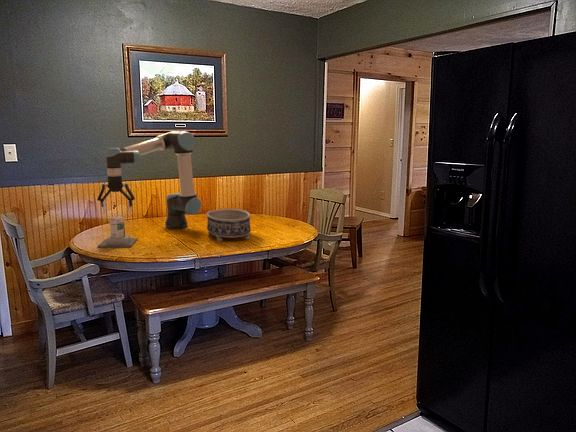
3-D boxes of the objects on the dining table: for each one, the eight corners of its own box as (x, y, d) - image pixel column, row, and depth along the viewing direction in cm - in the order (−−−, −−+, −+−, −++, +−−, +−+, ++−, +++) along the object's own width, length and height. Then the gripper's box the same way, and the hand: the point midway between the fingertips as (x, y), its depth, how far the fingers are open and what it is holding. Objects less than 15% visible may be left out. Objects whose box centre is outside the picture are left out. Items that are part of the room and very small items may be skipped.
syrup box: (117, 243, 254) (116, 218, 251) (110, 241, 257) (109, 217, 254) (125, 241, 259) (124, 216, 256) (119, 240, 262) (117, 215, 259)
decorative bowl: (259, 242, 267) (259, 217, 264) (215, 246, 257) (215, 220, 254) (239, 228, 305) (239, 206, 303) (200, 230, 295) (200, 208, 293)
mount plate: (137, 239, 268) (137, 233, 267) (130, 247, 250) (130, 240, 249) (106, 240, 266) (106, 233, 265) (97, 247, 248) (97, 240, 247)
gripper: (89, 176, 246) (92, 214, 250) (135, 176, 248) (138, 213, 253) (93, 174, 253) (96, 211, 257) (138, 174, 256) (141, 210, 260)
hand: (117, 212), depth 255 cm, fingers open, 13 cm apart
